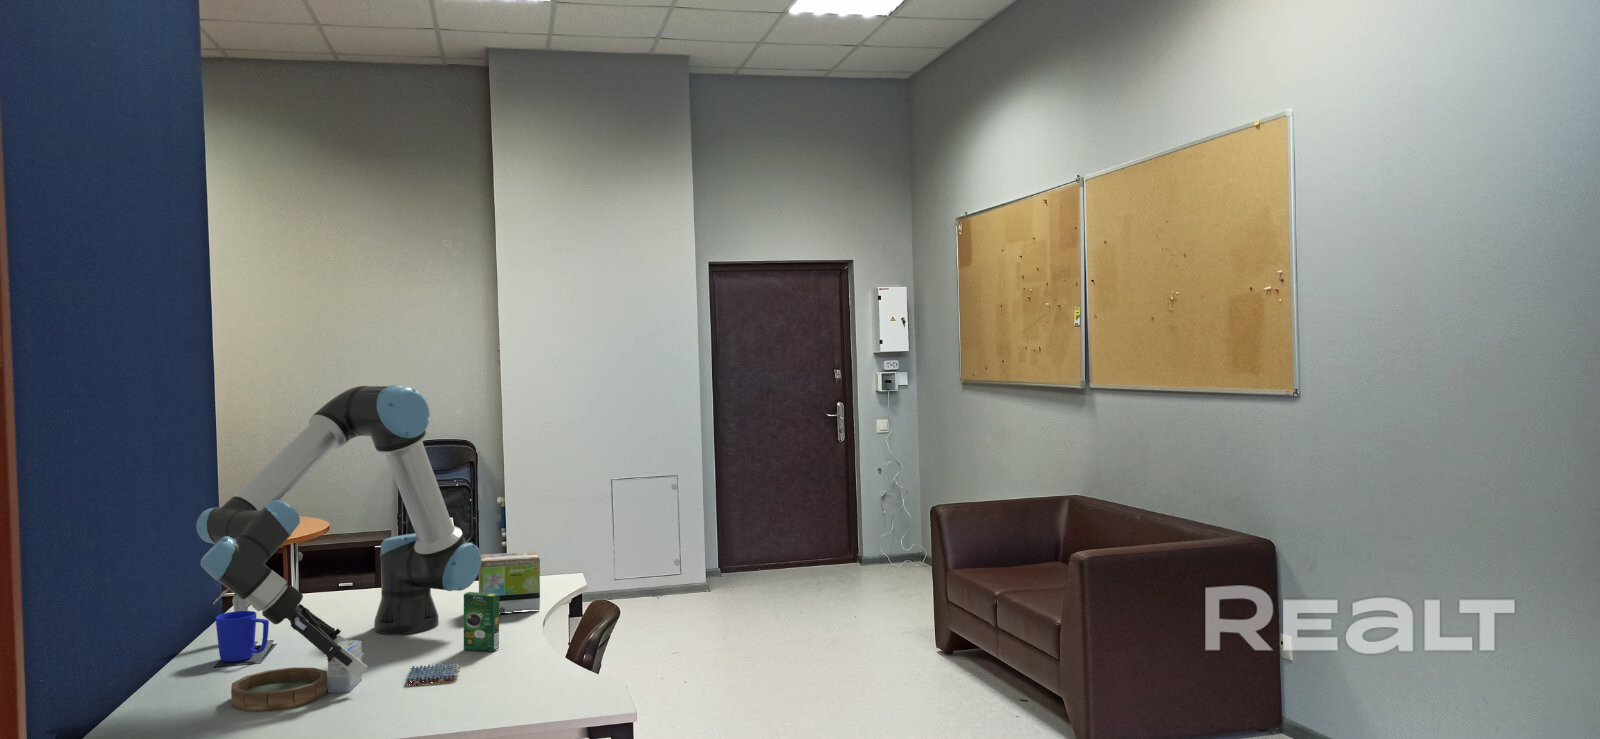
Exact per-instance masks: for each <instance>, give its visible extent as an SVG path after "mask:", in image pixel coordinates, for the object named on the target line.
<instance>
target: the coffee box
mask: <svg viewBox="0 0 1600 739" xmlns="http://www.w3.org/2000/svg"><path fill="white" fill-rule="evenodd" d="M498 648H499V649H500V614H499V594H492V593H479V591H478V592H475V591H467V592H465V593H463V651H465V650H467V651H477V650H479V652H480V651H481V652H487V651H488V652H492V651H494V652H496V651H497V650H496V649H498ZM499 649H498V650H499ZM495 650H496V651H495Z"/></svg>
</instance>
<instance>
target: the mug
mask: <svg viewBox="0 0 1600 739" xmlns="http://www.w3.org/2000/svg"><path fill="white" fill-rule="evenodd" d="M257 623H261V624H263V625H262V627H263V628H262V639H261V640H262V641H261V645H260V647H259V649H255V644H256V632H257V631H256V629H257ZM269 625H270V623H269V620H268V619H267V618H257V612H256V611H251V610H248V611H236V612H234V611H230V612H225V613H222V614H219V615H217V616H215V627H216V636H217V646H218V654H219V658H220V660H221V661H223V662H227V663H236V661H237V662H242V660H243V661H246V660H249V659H251V658H252V657H253V655H254V654H259V653H262V652H264V651H265V649H266V647H267V644H268V638H269V628H270V626H269ZM250 657H251V658H250ZM248 658H249V659H248ZM245 659H246V660H245Z"/></svg>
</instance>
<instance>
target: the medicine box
mask: <svg viewBox="0 0 1600 739" xmlns="http://www.w3.org/2000/svg"><path fill="white" fill-rule="evenodd" d="M338 645H339V646H341V648H342V647H343V648H345V649H346V650H347V651H348V652H350V653H351V654H352V655H353V656H355V657H356V658H357V659H359V660H360V661H361V662H362V660H363V659H362V658H363V657H362V656H363V655H362V653H363V652H362V651H363V649H362V641H361V640H355V639H353V640H347V641H340V642H339V643H338ZM331 649H332V648H331ZM331 649H330V650H331ZM362 663H363V662H362ZM327 676H328V689H327V693H329V694H339V693H340V694H341V693H350V692H351V691H353V689H354V688H355V687H356V686H357V685H358V684H359V683H360V682H361V681H362V680H363V679H362V677H363V673H362V674H361V675H360V676H359V677H358V678H357V677H356V676H354V675H353V674H352V673H351V672H349V671H348V670H347V669H345V668H344V667H343V666H341V665H340V664H339V663H338V662H336V661H335V660H334V659H332V660H331V661H328V660H327Z"/></svg>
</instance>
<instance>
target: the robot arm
mask: <svg viewBox="0 0 1600 739" xmlns="http://www.w3.org/2000/svg"><path fill="white" fill-rule="evenodd" d="M430 416H431V415H430V409H429V405H428V402H427V400H426V399H425V397H424V395H423V394H422V393H421V392H419V391H418V390H416V389H414V388H412V387H410V386H409V387H408V386H403V385H402V386H401V385H395V384H394V385H393V384H392V385H389V386H388V385H385V386H384V385H383V386H382V385H381V386H379V385H373V386H372V385H371V386H370V385H360V386H359V385H358V386H355V387H351V388H349V389H346V390H344V391H342V392H341V393H339V394H338V395H336V396H334V397H333V398H331V400H329V401H327V403H325V404H324V405H323V406H322V407H320V409H318V410H317V411H316V412H315V413H313V415H311V417H310V418H309V419H308V426H306V428H305V429H303V430H302V431H301V432H300V433H299V434H298V435H297V436H296V437H295V438H294V439H293V440H291V442H289V443H288V444H287V445H286V446H285V447H284V448H283V449H282V450H281V451H280V452H279V453H278V454H277V455H276V456H275V457H273V458H272V459H271V461H269V462H268V463H267V464H266V465H265V466H264V467H263V468H262V469H260V471H258V472H257V474H255V475H254V476H253V477H252V478H251V479H250V480H249V481H248V482H247V483H245V485H243V487H241V488H240V489H239V490H238V491H237V492H236V493H235V494H234V495H233V496H232V497H231V498H230V499H229V500H227V501H226V502H225V503H224V504H223V505H222V506H221V507H220V506H216V507H215V506H214V507H210V508H208V509H206V510H204V511H202V512H201V513H200V515H199V517H198V519H197V521H196V526H195V527H196V533H197V534H198V536H199V538H200V539H201V540H203V541H204V542H206V543H208V544H213V546H212V547H211V548H210V549H209V550H208V551H207V552H206V553H205V554H204V555H203V556H202V557H201V559H200V566H201V568H202V569H203V570H204V571H205V572H206V573H207V574H208V575H210V576H211V577H212V578H213V579H214V580H215V581H216V582H219V584H221V585H222V586H224V587H225V588H226V589H229V590H228V591H231V592H232V593H233V594H235V595H238V596H239V597H240V598H241V599H243V600H244V601H245V602H246V604H245V606H246V607H248V608H249V607H252V608H253V609H254V610H256V611H257V612H261V613H262V614H261V615H262V617H264V619H266V620H268V621H270V623H272V624H273V625H278V624H280V623H282V622H283V621H284V620H286V619H287V620H288V621H289V622H290V627H291V628H292V629H293V630H295V631H297V633H299V634H301V635H302V636H303V637H304V638H305V639H306V640H307V641H309V642H310V643H311V644H312V645H313V646H315V647H316V648H317V649H318V650H319V651H320V652H321V653H323V655H325V656H326V657H327V658H326V660H327V662H328V661H331V660H332V659H334V660H335V661H336V662H338V663H339V664H340V665H341V666H343V667H344V668H345V669H347V670H348V671H349V672H351V673H352V674H353V675H354V676H356V677H357V678H358V677H359V676H360V675H361V674H362V675H363V673H364V672H366V670H367V669H368V665H367V664H366V663H363V662H361V661H360V660H359V659H357V658H356V657H355V656H353V655H352V654H351V653H350V652H348V651H347V650H346V649H345V648H343V647H342V648H341V646H339V645H338V643H339V642H340V641H348V640H347V639H346V638H345V637H344V636H342V635H340V633H342V631H341V630H340V629H339V628H338V627H337V628H336V629H335V628H334V627H332V626H331V625H329V624H328V623H327V622H325V621H324V620H322V619H321V618H319V617H318V616H317V615H316V614H314V613H313V612H311V611H310V609H308V608H307V607H305V606H304V604H301V602H302V600H303V598H304V597H303V596H304V595H303V593H302V592H300V591H299V590H298V589H296V587H294V586H293V585H291V584H288V585H287V583H288V581H287V580H286V579H285V578H283V577H282V576H280V575H279V574H278V573H277V572H275V571H274V570H273V569H271V568H270V567H269V566H267V565H266V563H267V562H268V561H269V559H270V558H271V557H272V556H273V555H274V554H275V552H277V551H278V549H280V547H281V546H282V545H283V544H284V543H285V542H286V541H287V540H289V538H290V537H291V536H292V534H293V533H294V531H295V530H297V528H298V526H299V525H300V523H301V517H300V514H299V513H298V512H297V510H296V509H295V508H294V507H293V506H291V504H289V503H287V502H285V501H283V499H284V498H285V496H287V495H288V494H289V493H290V492H291V491H292V490H294V488H295V487H296V486H297V485H298V484H299V483H301V481H302V480H304V478H305V477H307V475H308V474H309V473H310V472H311V471H312V470H313V469H315V467H316V466H318V464H320V463H321V462H322V461H323V460H324V459H325V458H326V457H327V456H328V455H329V454H330V453H331V452H332V451H333V450H334V449H339V448H343V447H344V446H345V445H346V444H347V443H348V442H349V441H350V440H352V439H354V438H357V437H361V436H363V437H371V440H372V444H373V445H374V448H375V450H376V451H377V452H378V453H380V454H384V455H385V457H386V460H387V462H388V465H389V467H390V470H391V472H392V475H393V478H394V481H395V484H396V485H397V489H398V491H399V494H400V496H401V499H402V502H403V503H404V507H405V510H406V512H407V516H408V517H409V520H410V522H411V525H412V527H413V528H412V529H413V530H414V533H408V534H402V535H397V536H396V535H395V536H391V537H387V538H384V539H383V540H382V542H381V544H380V554H379V561H380V562H379V563H380V586H381V588H380V589H381V591H380V592H381V593H380V594H381V595H380V596H381V598H380V601H379V606H378V608H377V611H376V615H375V617H374V618H375V619H374V631H375V632H377V633H380V634H388V635H399V634H400V635H402V634H403V635H404V634H412V633H418V632H424V631H428V630H431V629H433V628H436V627H438V625H439V612H438V611H437V608H436V604H435V602H434V600H433V597H432V593H431V591H432V590H431V589H433V590H442V591H443V590H444V591H447V592H453V591H456V592H459V591H463V590H464V591H465V590H466V589H467V588H470V586H472V585H473V584H474V582H475V581H476V579H477V577H479V570H480V567H481V555H482V554H481V552H480V549H479V547H478V546H477V545H476V544H474V543H472V542H466V539H465V537H464V536H465V535H464V534H463V531H462V529H461V528H460V527H458V526H455V525H453V522H452V520H451V517H450V515H449V512H448V509H447V506H446V503H445V500H444V498H443V495H442V492H441V490H440V487H439V484H438V481H437V478H436V475H435V473H434V470H433V467H432V465H431V462H430V460H429V456H428V454H427V450H426V447H425V445H424V442H423V441H424V440H425V438H426V436H427V431H426V429H427V427H428V426H429V422H430V420H428V419H429V418H430ZM331 648H332V649H331ZM330 649H331V650H330ZM363 655H364V652H362V656H363Z"/></svg>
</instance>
